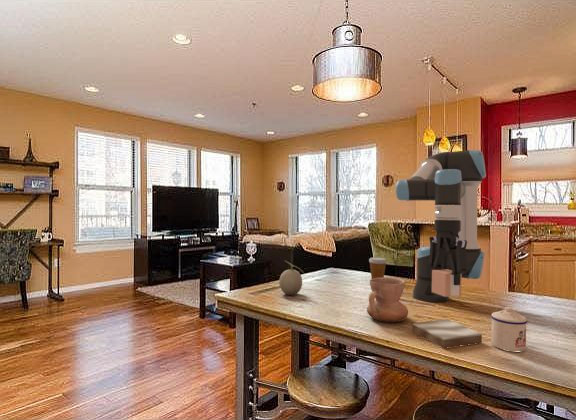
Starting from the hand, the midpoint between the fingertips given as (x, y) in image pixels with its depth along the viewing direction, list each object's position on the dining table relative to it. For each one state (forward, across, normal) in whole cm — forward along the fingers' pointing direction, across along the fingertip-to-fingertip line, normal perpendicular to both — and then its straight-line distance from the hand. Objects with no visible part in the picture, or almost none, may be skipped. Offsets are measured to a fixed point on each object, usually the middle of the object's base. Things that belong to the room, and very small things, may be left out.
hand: (446, 292), depth 111 cm
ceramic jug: (+14, -21, -8) cm, 27 cm away
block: (0, 0, 0) cm, 0 cm away
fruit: (+14, -64, -30) cm, 72 cm away
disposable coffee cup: (+14, -80, +25) cm, 85 cm away
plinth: (+14, 0, 0) cm, 14 cm away
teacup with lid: (+14, +11, +14) cm, 23 cm away
